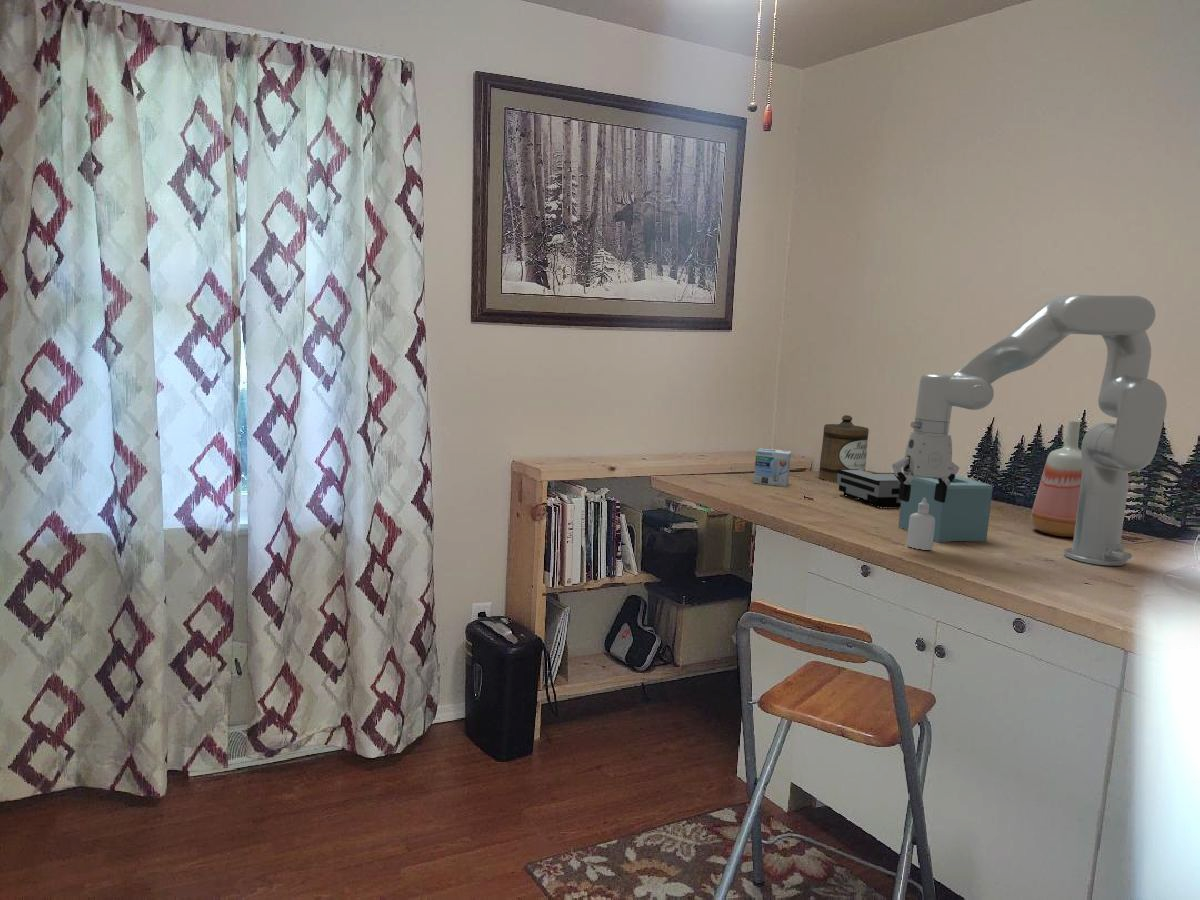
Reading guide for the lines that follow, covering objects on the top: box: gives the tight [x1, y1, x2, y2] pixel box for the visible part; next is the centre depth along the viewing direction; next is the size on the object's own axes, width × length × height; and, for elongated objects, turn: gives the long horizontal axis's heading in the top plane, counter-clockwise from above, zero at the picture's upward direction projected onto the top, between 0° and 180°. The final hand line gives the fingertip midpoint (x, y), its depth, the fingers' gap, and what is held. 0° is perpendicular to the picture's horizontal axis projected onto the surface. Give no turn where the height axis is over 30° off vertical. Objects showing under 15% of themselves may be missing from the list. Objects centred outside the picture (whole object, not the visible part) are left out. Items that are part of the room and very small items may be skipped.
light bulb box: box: [753, 447, 792, 488], centre depth 286 cm, size 11×7×11 cm, turn 73°
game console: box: [835, 469, 901, 509], centre depth 269 cm, size 21×32×8 cm, turn 109°
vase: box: [1030, 420, 1082, 538], centre depth 231 cm, size 14×14×30 cm
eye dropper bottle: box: [906, 498, 935, 551], centre depth 208 cm, size 4×6×12 cm
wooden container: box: [818, 414, 870, 483], centre depth 301 cm, size 15×15×22 cm
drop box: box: [898, 474, 994, 543], centre depth 224 cm, size 16×14×14 cm
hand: (921, 501), depth 207 cm, fingers open, 9 cm apart
